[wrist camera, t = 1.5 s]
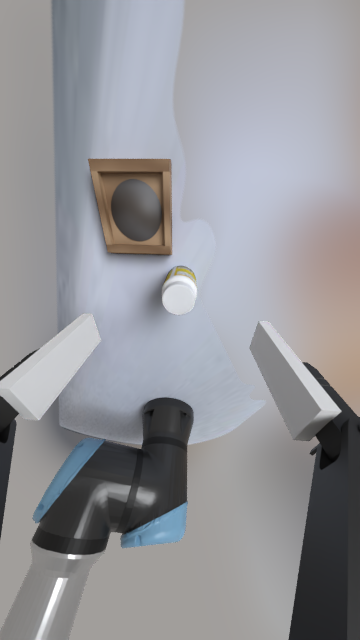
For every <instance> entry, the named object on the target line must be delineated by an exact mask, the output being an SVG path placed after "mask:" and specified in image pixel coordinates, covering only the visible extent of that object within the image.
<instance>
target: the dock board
mask: <svg viewBox="0 0 360 640" xmlns="http://www.w3.org/2000/svg"><path fill="white" fill-rule="evenodd" d="M88 161H89V166H90V171H91V175H92V180H93V185H94V189H95V194H96V199H97V204H98V208H99V213H100V218H101V222H102V227H103V232H104V236H105V241H106V246H107V251H108V252H111V253H121V254H158V255H172V189H171V160H170V159H88Z"/></svg>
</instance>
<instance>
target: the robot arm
mask: <svg viewBox="0 0 360 640" xmlns="http://www.w3.org/2000/svg"><path fill="white" fill-rule="evenodd" d="M100 341H101V338H100V335H99V332H98V329H97V326H96V323H95V320H94V317H93V314H86V313H83V314H82V315H80V316H79V317H78V318H77V319H76V320H74V321H73V322H72V323H71V324H69V325H68V326H67V327H66V328H65V329H63V330H62V331H61V332H60V333H58V334H57V335H56V336H55V337H54V338H52V339H51V340H50V341H49V342H47V343H46V344H45V345H44V346H43V347H41V348H39V349H38V350H36V351H34V352H32V353H30V354H29V355H27V356H26V357H25V358H24V359H22V360H21V362H19V363H17V364H16V365H15V366H14V368H11V369H10V370H8V371H7V372H6V373H5V374H4V375H2V376H1V377H0V537H1V530H2V523H3V516H4V509H5V502H6V494H7V487H8V480H9V473H10V466H11V459H12V452H13V445H14V437H15V431H16V421H15V417H16V416H17V415H18V414H20V415H21V416H22V417H23V418H24V419H26V420H40V418H41V417H42V416H43V414H44V413H45V412H46V411H47V409H48V408H49V407H50V405H51V404H52V403H53V402H54V400H55V399H56V398H57V397H58V395H59V394H60V393H61V391H62V390H63V389H64V388H65V386H66V385H67V384H68V382H69V381H70V380H71V379H72V377H73V376H74V375H75V373H76V372H77V371H78V370H79V368H80V367H81V366H82V364H83V363H84V362H85V361H86V359H87V358H88V357H89V355H90V354H91V353H92V352H93V350H94V349H95V348H96V346H97V345H98V344H99V343H100ZM250 350H251V352H252V355H253V357H254V359H255V361H256V363H257V365H258V367H259V369H260V371H261V373H262V376H263V377H264V380H265V382H266V384H267V386H268V388H269V390H270V392H271V394H272V396H273V398H274V400H275V403H276V405H277V407H278V409H279V411H280V413H281V415H282V417H283V419H284V422H285V424H286V426H287V428H288V430H289V432H290V434H291V436H292V438H293V440H301V441H310V440H311V439H312V438H313V437H314V436H315V435H316V437H317V439H318V440H319V442H320V443H319V444H318V445H317V446H316V447H315V448H313V449H312V450H311V452H310V454H311V455H314V454H315V453H316V459H315V465H314V472H313V479H312V486H311V492H310V500H309V506H308V512H307V519H306V526H305V533H304V539H303V546H302V554H301V560H300V566H299V573H298V580H297V587H296V594H295V601H294V607H293V614H292V620H291V627H290V634H289V640H360V417H358V416H357V415H356V414H355V413H354V412H353V410H352V409H351V408H350V407H349V406H348V405H347V404H346V402H345V401H344V400H343V399H342V398H341V397H340V396H339V394H338V393H337V392H336V391H335V390H334V389H333V388H332V387H331V386H330V384H329V383H328V382H327V381H326V380H325V379H324V377H323V376H322V375H321V374H320V373H319V371H318V370H317V369H315V368H314V367H313V366H311V365H310V364H308V363H305V362H301V361H300V359H299V358H298V357H297V356H296V355H295V353H294V352H293V351H292V350H291V348H290V347H289V346H288V345H287V343H285V341H284V340H283V338H282V337H281V336H280V335H279V334H278V332H277V331H276V330H275V329H274V327H273V326H272V325H271V324H270V322H266V321H264V322H263V321H259V322H258V325H257V327H256V331H255V333H254V337H253V339H252V342H251V345H250ZM142 418H143V444H142V449H137V448H134V447H129V446H125V445H121V444H117V443H113V442H109V441H105V440H106V439H103V440H100V439H94V438H85V439H83V440H82V441H80V442H79V443H78V444H77V445H76V447H75V448H74V449H73V450H72V452H71V453H70V455H69V456H68V458H67V459H66V460H65V462H64V463H63V465H62V466H61V468H60V469H59V471H58V472H57V474H56V476H55V477H54V479H53V480H52V482H51V484H50V485H49V487H48V489H47V490H46V492H45V494H44V495H43V497H42V500H41V501H40V503H39V505H38V507H37V508H36V510H35V512H34V515H33V520H34V521H35V523H39V522H40V524H39V526H38V528H37V530H36V532H35V534H34V536H33V539H32V540H31V543H30V545H31V553H32V564H31V566H30V568H29V570H28V573H27V575H26V577H25V579H24V581H23V583H22V586H21V587H20V590H19V592H18V594H17V596H16V598H15V601H14V603H13V605H12V607H11V609H10V611H9V613H8V616H7V618H6V620H5V622H4V624H3V626H2V628H1V631H0V640H68V639H69V636H70V632H71V630H72V626H73V623H74V620H75V616H76V613H77V610H78V606H79V603H80V600H81V597H82V594H83V590H84V587H85V583H86V580H87V577H88V574H89V571H90V569H91V567H92V566H93V564H94V563H95V562H96V561H97V560H98V559H99V558H100V557H101V556H102V555H103V554H104V552H105V549H106V546H107V542H108V539H109V535H110V533H111V532H118V533H122V536H121V547H122V548H127V547H136V546H146V545H154V544H163V543H171V542H178V541H180V540H181V539H182V537H183V535H184V533H185V526H186V511H187V504H188V502H187V443H188V440H189V436H190V433H191V429H192V425H193V421H194V417H193V410H192V408H191V407H190V406H189V405H188V404H186V403H184V402H182V401H180V400H177V399H171V398H159V399H155V400H152V401H150V402H148V403H147V404H146V405H145V407H144V411H143V416H142Z"/></svg>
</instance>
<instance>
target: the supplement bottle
mask: <svg viewBox="0 0 360 640" xmlns="http://www.w3.org/2000/svg"><path fill="white" fill-rule="evenodd" d="M196 297H197V285H196V278H195V275H194V273H193V271H192V270H191V269H190V268H188V267H186V266H177V267H174V268H173V269H172V270H171V271H170V272H169V273H168V275H167V278H166V280H165V282H164V284H163V287H162V303H163V306H164V307H165V309H166V310H167V311H168V312H170V313H172V314H174V315H183V314H186V313H188V312H189V311H191V310H192V308H193V306H194V304H195V300H196Z"/></svg>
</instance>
